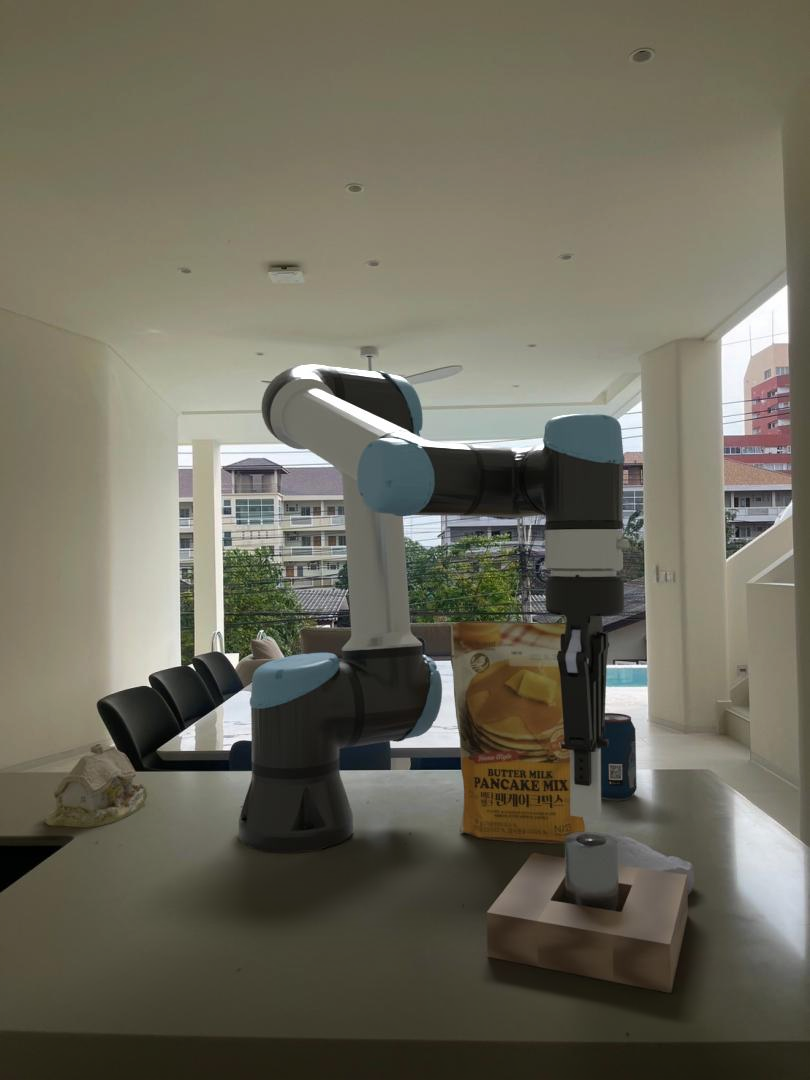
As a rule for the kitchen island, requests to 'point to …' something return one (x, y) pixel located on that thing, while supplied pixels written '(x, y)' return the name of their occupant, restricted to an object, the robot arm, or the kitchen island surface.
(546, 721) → the pancake mix bag
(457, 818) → the kitchen island surface
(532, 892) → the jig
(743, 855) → the kitchen island surface
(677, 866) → the stone block
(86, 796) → the ceramic model
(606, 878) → the cylinder
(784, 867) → the kitchen island surface
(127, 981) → the kitchen island surface
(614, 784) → the soda can
